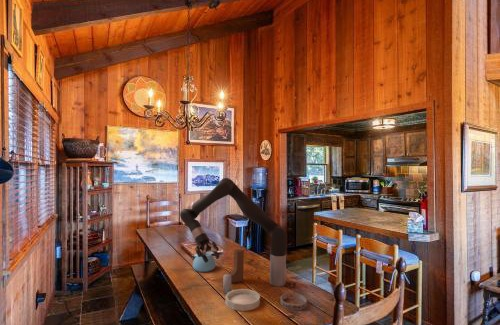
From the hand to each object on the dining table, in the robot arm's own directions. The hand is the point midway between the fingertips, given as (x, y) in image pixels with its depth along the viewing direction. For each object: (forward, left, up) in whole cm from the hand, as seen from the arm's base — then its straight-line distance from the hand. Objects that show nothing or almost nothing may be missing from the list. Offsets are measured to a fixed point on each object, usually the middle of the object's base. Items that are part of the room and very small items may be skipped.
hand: (212, 260), depth 163 cm
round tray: (+3, +26, -15) cm, 30 cm away
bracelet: (-13, +46, -15) cm, 50 cm away
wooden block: (-14, +5, -15) cm, 21 cm away
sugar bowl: (-15, -24, -15) cm, 32 cm away
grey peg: (0, +12, -15) cm, 19 cm away
